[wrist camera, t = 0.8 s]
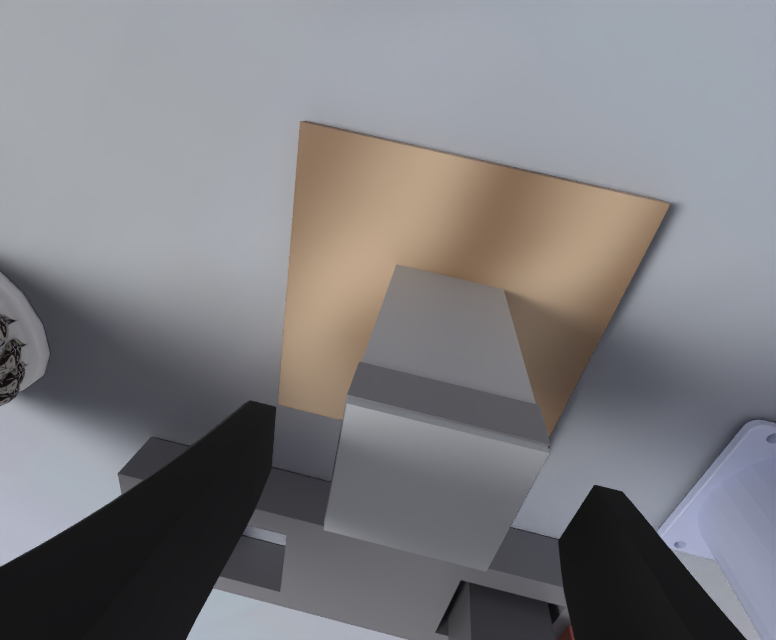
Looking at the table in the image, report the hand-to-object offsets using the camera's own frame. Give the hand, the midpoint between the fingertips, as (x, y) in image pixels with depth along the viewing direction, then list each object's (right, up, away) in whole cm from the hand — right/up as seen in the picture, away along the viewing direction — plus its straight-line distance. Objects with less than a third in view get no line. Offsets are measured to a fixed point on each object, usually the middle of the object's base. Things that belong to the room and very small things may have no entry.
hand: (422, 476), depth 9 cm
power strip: (-2, -9, +14) cm, 17 cm away
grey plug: (+1, +3, +7) cm, 8 cm away
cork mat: (+1, +4, +7) cm, 8 cm away
